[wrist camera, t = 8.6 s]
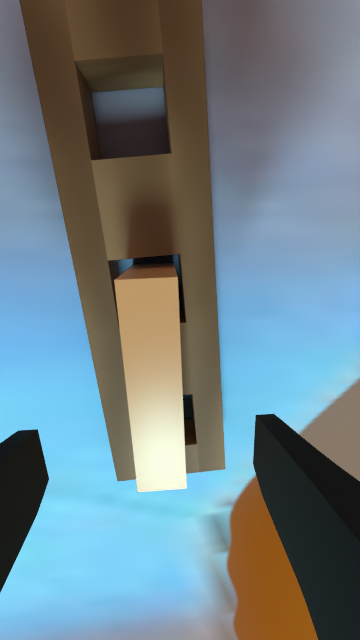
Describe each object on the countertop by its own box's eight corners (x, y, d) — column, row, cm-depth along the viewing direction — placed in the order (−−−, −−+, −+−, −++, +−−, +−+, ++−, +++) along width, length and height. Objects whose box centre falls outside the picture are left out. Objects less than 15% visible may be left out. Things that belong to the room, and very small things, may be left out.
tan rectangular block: (146, 415, 19) (137, 492, 13) (132, 264, 16) (114, 279, 10) (180, 412, 19) (186, 488, 13) (173, 262, 16) (177, 277, 10)
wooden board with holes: (123, 451, 20) (117, 481, 17) (45, 39, 13) (17, -7, 10) (218, 441, 20) (225, 469, 17) (193, 28, 13) (200, -21, 10)
